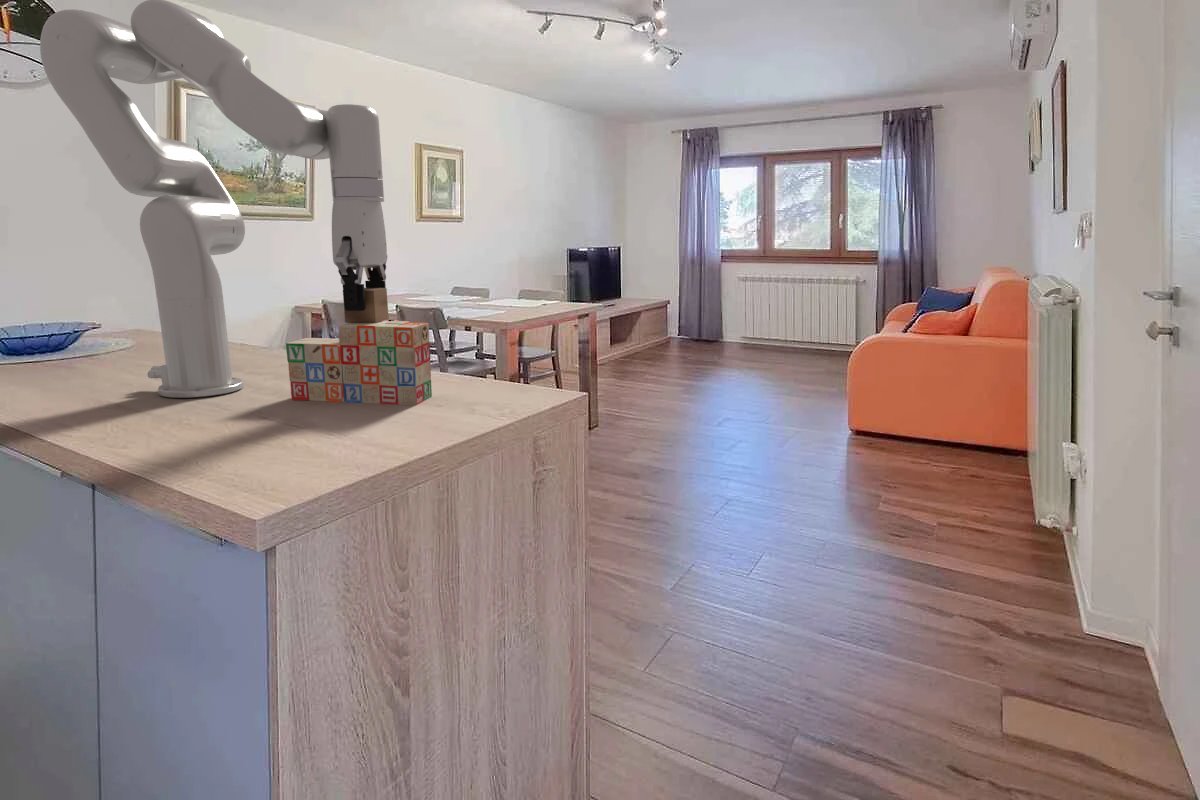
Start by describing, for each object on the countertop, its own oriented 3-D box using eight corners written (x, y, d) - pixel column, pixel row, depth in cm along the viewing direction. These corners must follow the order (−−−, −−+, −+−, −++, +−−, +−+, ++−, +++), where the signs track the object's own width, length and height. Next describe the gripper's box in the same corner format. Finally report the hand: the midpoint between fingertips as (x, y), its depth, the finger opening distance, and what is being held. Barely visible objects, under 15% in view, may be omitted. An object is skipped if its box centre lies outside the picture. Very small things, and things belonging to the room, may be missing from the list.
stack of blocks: (290, 401, 118) (282, 323, 116) (311, 392, 124) (305, 318, 122) (417, 406, 115) (412, 326, 112) (433, 397, 121) (429, 321, 118)
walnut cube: (345, 322, 117) (342, 290, 116) (359, 318, 122) (356, 287, 121) (375, 322, 116) (373, 290, 115) (388, 319, 121) (386, 288, 120)
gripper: (359, 194, 123) (367, 302, 127) (306, 189, 107) (316, 313, 110) (403, 194, 122) (409, 303, 126) (356, 188, 106) (365, 314, 110)
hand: (366, 307), depth 118 cm, fingers open, 7 cm apart
